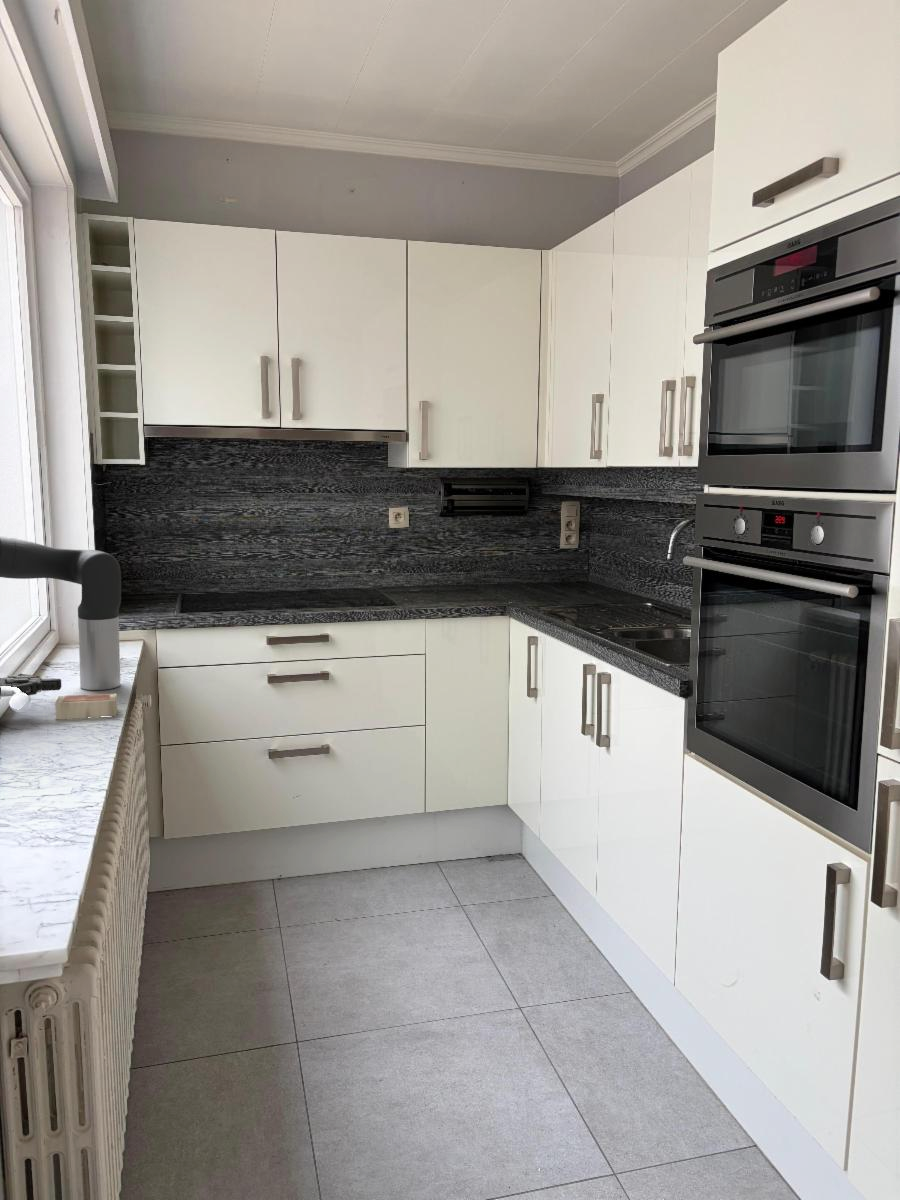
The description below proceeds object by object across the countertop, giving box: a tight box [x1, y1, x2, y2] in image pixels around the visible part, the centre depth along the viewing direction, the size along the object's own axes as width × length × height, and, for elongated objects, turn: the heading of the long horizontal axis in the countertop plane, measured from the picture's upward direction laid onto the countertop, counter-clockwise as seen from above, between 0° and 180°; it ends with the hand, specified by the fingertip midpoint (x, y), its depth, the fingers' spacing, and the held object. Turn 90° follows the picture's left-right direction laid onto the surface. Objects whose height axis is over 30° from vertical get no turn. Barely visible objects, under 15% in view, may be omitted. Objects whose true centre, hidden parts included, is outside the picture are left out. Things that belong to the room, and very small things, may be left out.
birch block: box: [54, 693, 118, 720], centre depth 201 cm, size 6×4×12 cm
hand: (60, 684), depth 198 cm, fingers closed
